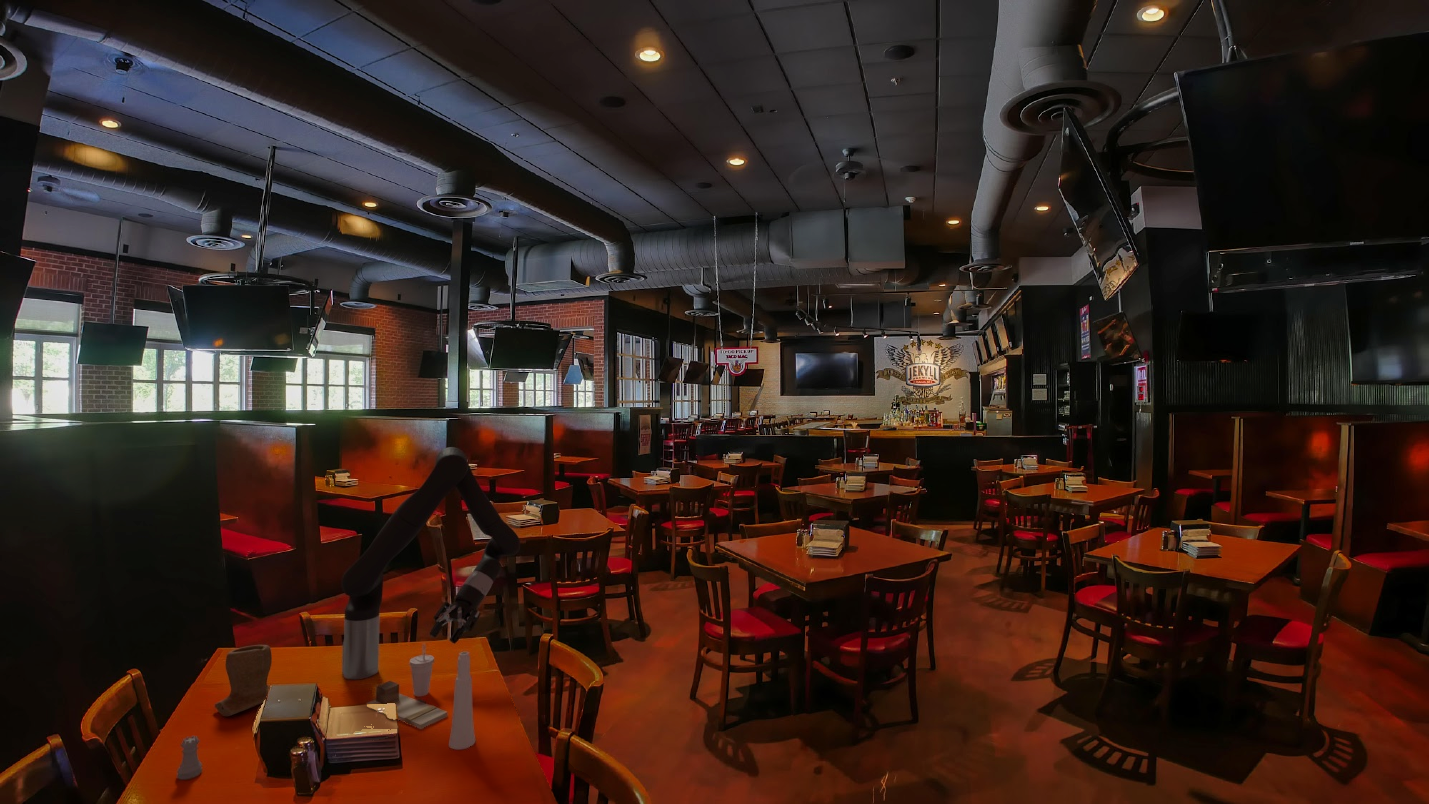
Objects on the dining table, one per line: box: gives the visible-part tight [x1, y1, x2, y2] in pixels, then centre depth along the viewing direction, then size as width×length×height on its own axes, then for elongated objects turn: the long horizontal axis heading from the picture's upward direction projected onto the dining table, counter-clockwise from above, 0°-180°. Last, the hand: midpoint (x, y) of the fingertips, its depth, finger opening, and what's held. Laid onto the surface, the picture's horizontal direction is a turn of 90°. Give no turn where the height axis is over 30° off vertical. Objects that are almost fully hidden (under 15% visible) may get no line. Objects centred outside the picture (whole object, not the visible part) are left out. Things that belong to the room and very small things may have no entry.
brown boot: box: [214, 644, 273, 717], centre depth 178 cm, size 15×12×15 cm
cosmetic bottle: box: [448, 651, 476, 751], centre depth 162 cm, size 6×6×22 cm
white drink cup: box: [408, 643, 435, 697], centre depth 187 cm, size 6×6×14 cm
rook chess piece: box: [176, 735, 203, 781], centre depth 146 cm, size 4×4×8 cm
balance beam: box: [366, 680, 448, 730], centre depth 176 cm, size 22×10×5 cm, turn 61°
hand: (442, 639), depth 193 cm, fingers open, 8 cm apart
